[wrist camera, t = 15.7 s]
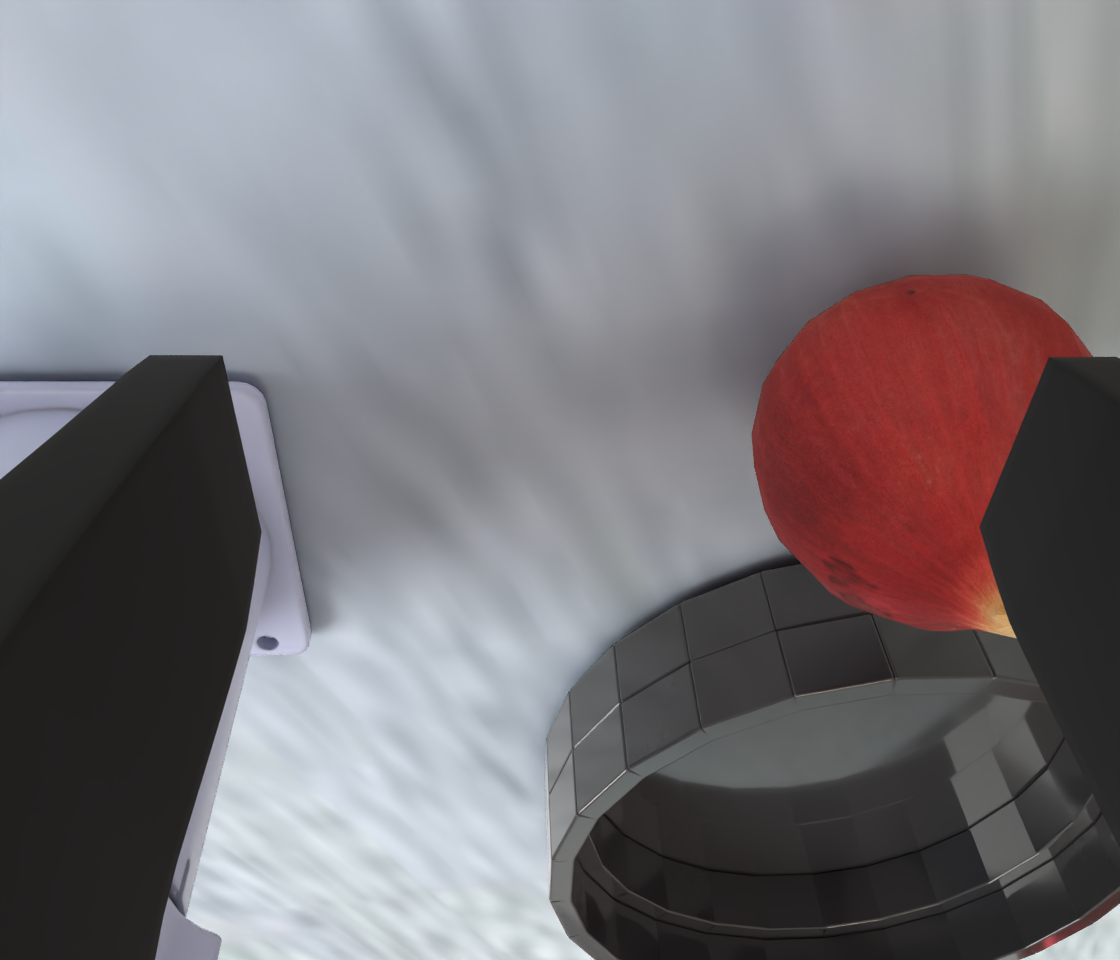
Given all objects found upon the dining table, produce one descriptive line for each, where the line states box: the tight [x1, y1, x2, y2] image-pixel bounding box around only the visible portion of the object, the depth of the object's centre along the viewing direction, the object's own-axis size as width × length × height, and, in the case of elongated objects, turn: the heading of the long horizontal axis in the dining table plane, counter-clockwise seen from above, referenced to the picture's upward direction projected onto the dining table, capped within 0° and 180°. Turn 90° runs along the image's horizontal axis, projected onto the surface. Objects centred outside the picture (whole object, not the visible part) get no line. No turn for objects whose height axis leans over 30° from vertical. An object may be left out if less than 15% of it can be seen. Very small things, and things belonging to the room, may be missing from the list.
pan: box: [545, 564, 1120, 960], centre depth 28 cm, size 16×16×4 cm
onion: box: [752, 275, 1093, 638], centre depth 17 cm, size 6×6×8 cm
